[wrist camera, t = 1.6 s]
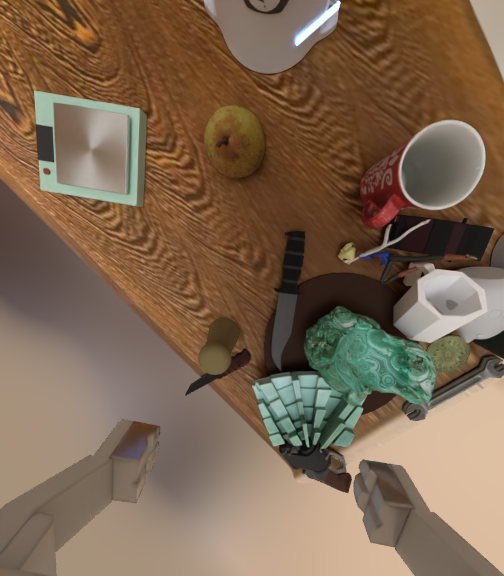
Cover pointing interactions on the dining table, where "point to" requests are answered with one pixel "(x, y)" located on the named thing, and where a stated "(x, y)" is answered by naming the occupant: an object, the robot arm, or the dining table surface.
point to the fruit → (234, 141)
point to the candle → (493, 344)
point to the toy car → (439, 236)
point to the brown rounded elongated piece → (219, 346)
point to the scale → (49, 157)
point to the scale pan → (91, 148)
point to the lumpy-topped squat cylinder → (498, 254)
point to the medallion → (448, 353)
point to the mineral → (368, 359)
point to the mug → (424, 172)
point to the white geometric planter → (437, 303)
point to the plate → (320, 302)
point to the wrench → (457, 387)
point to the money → (305, 409)
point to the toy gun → (316, 463)
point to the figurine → (391, 258)
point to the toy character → (499, 297)
